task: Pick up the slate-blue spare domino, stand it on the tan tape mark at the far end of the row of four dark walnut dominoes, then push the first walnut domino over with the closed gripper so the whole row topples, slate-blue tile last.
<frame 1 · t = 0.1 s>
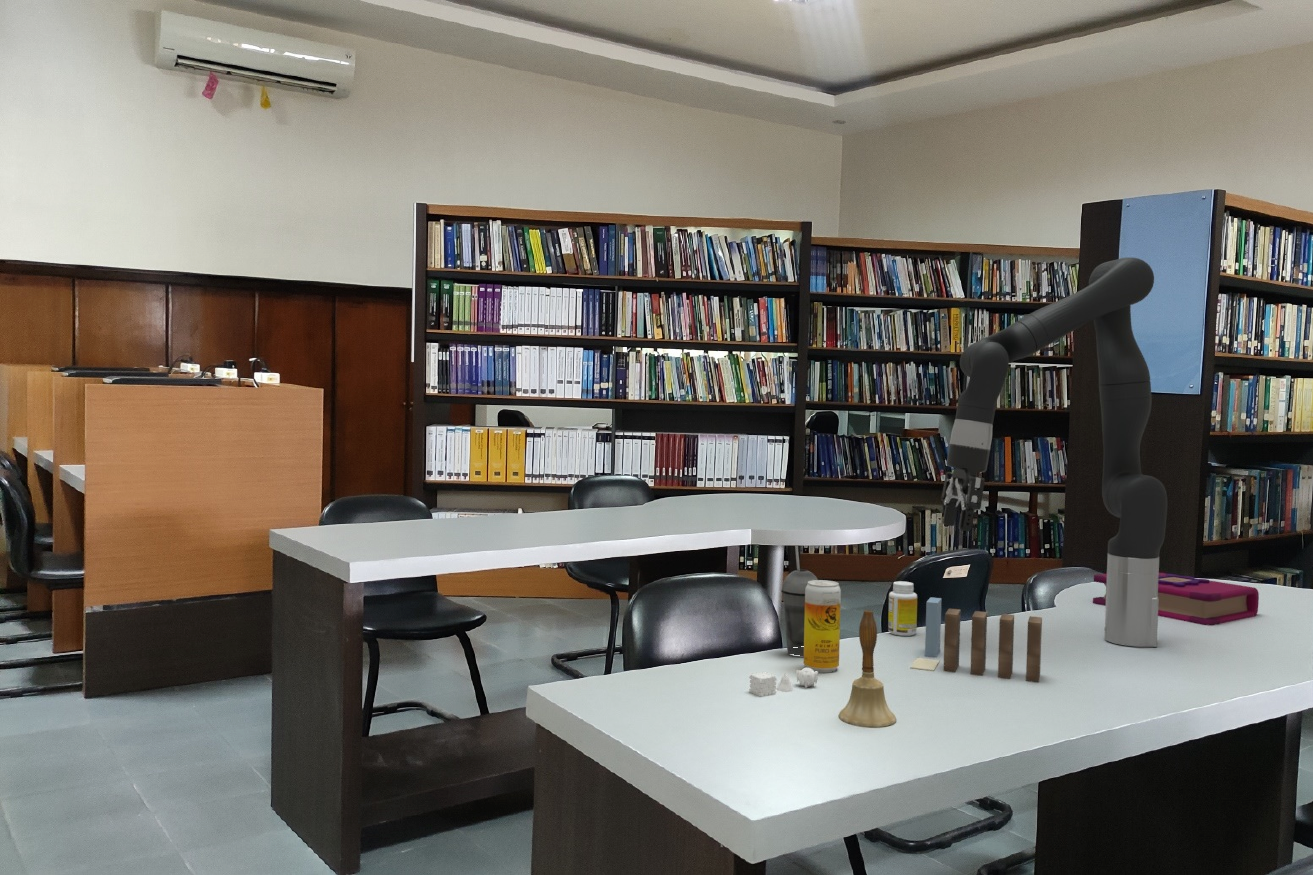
hand: (956, 527, 195), 22 cm above the table, tool pointing down, fingers open, 8 cm apart
domino 4: (951, 668, 177), on the table
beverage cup: (799, 655, 185), on the table
domino 1: (1033, 677, 172), on the table
domino 5: (932, 653, 187), on the table
domino 2: (1005, 674, 174), on the table
supplement bottle: (902, 634, 203), on the table
domino 3: (978, 671, 176), on the table
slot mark: (925, 664, 179), on the table
beer can: (821, 669, 175), on the table
hand bell: (867, 719, 148), on the table
game pieces: (785, 692, 163), on the table
book: (1172, 611, 233), on the table
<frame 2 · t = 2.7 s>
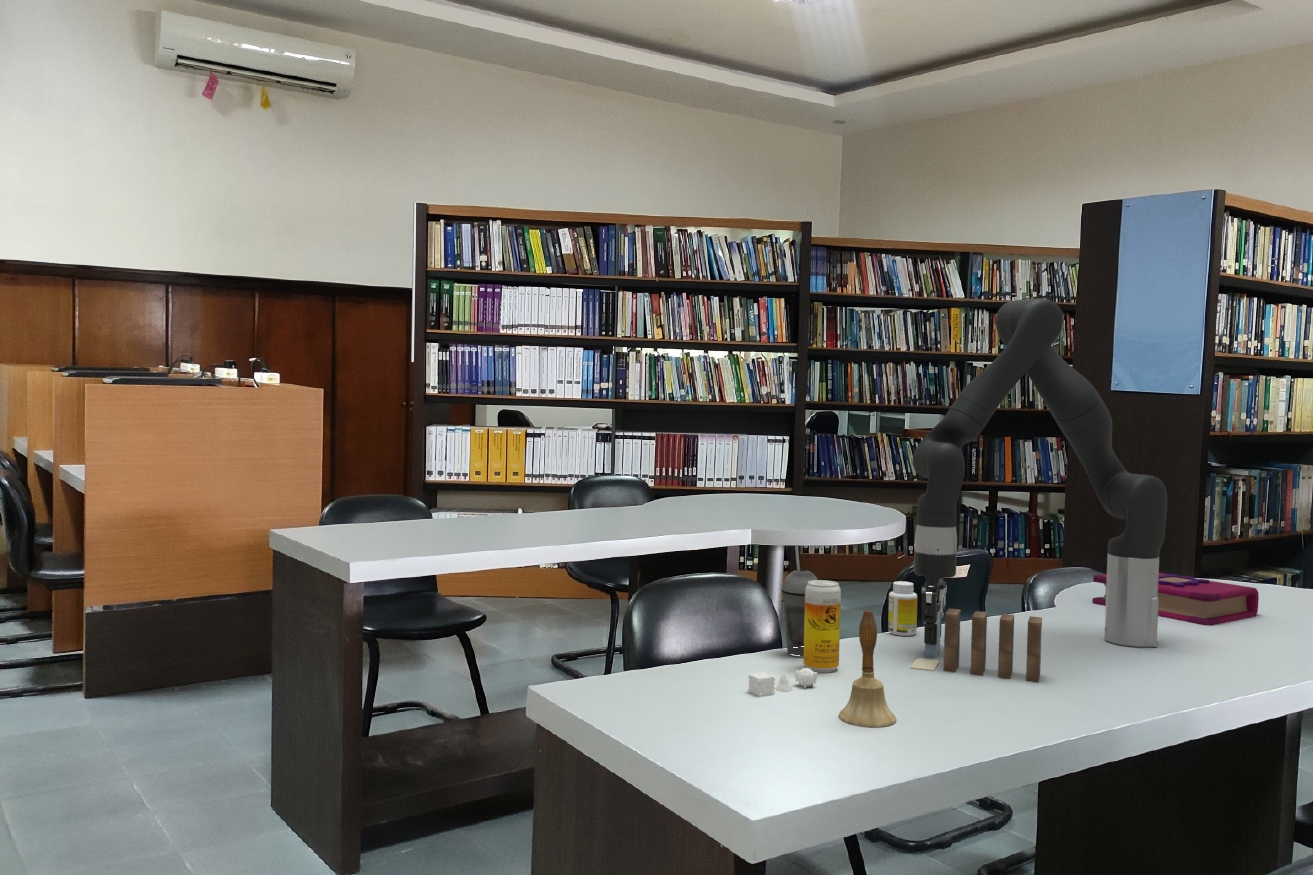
hand: (932, 640, 187), 2 cm above the table, tool pointing down, fingers closed on domino 5, 5 cm apart
domino 5: (932, 653, 187), on the table, touching gripper
everything else where it was.
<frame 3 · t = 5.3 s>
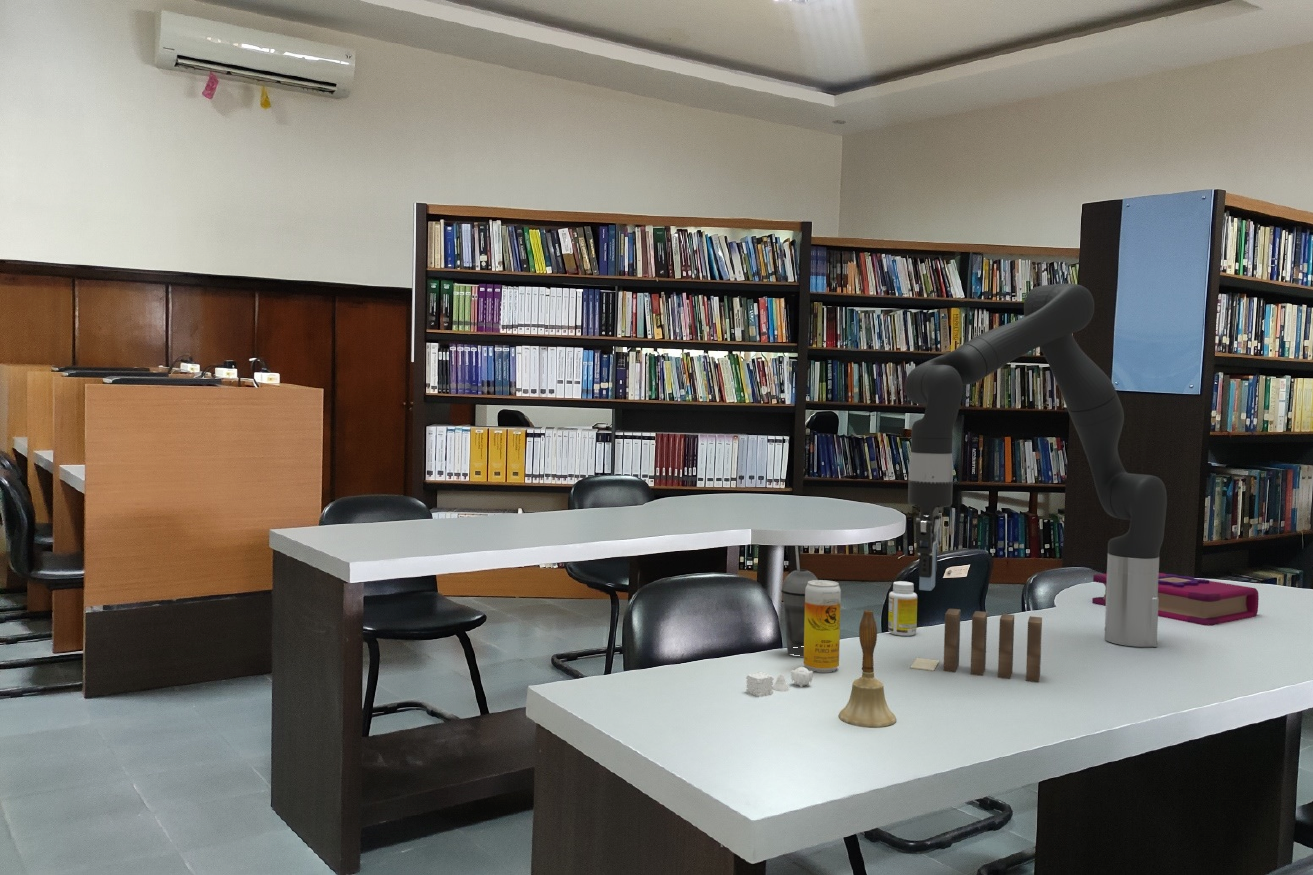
hand: (927, 574, 179), 16 cm above the table, tool pointing down, fingers closed on domino 5, 5 cm apart
domino 5: (927, 587, 179), point 14 cm above the table, touching gripper
when the fingers open (3 cm above the table, at t = 8.0 s): domino 5 stays where it is, resting on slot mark.
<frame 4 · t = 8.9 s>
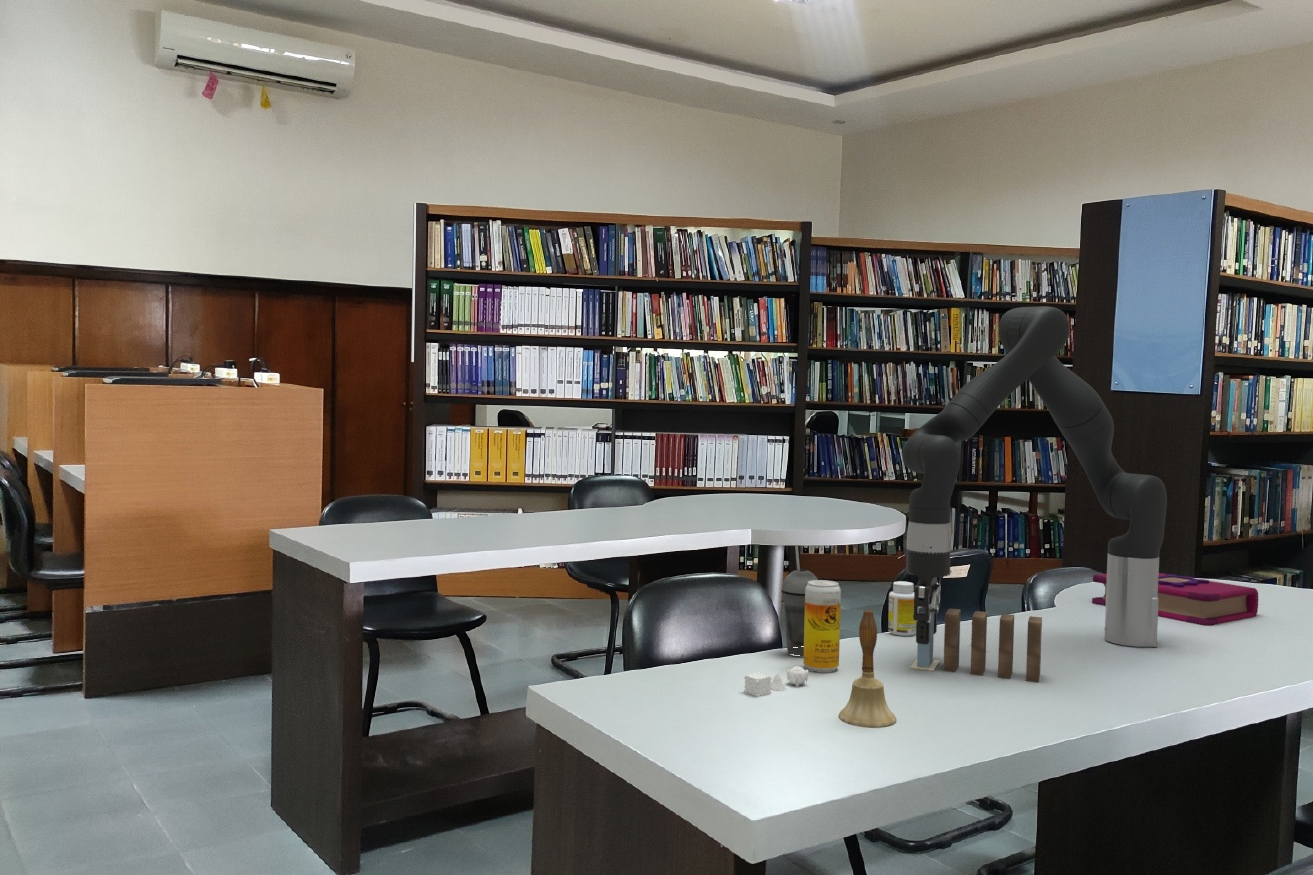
hand: (926, 638, 179), 5 cm above the table, tool pointing down, fingers open, 8 cm apart
domino 5: (925, 663, 179), resting on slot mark
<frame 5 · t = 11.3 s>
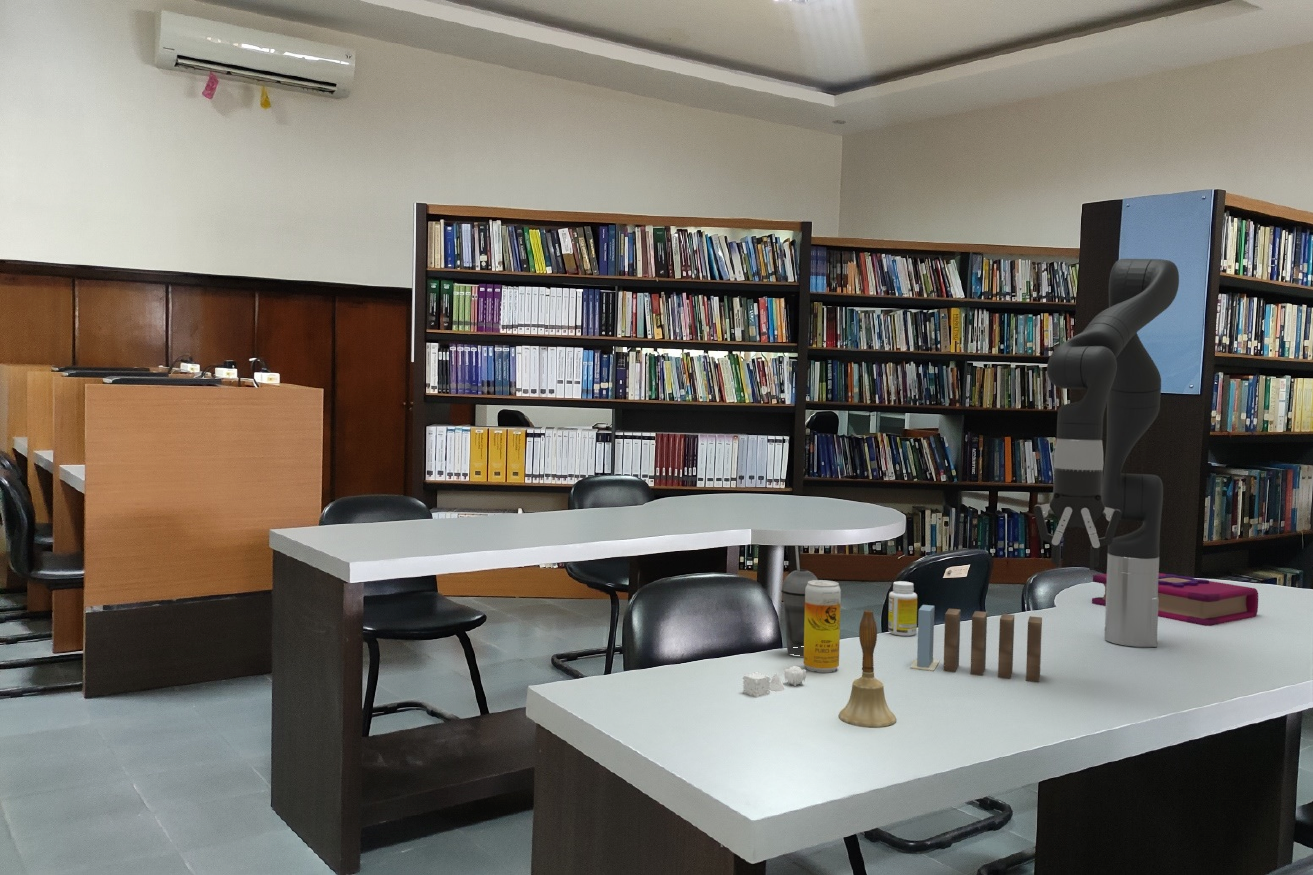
hand: (1074, 567, 169), 19 cm above the table, tool pointing down, fingers open, 4 cm apart
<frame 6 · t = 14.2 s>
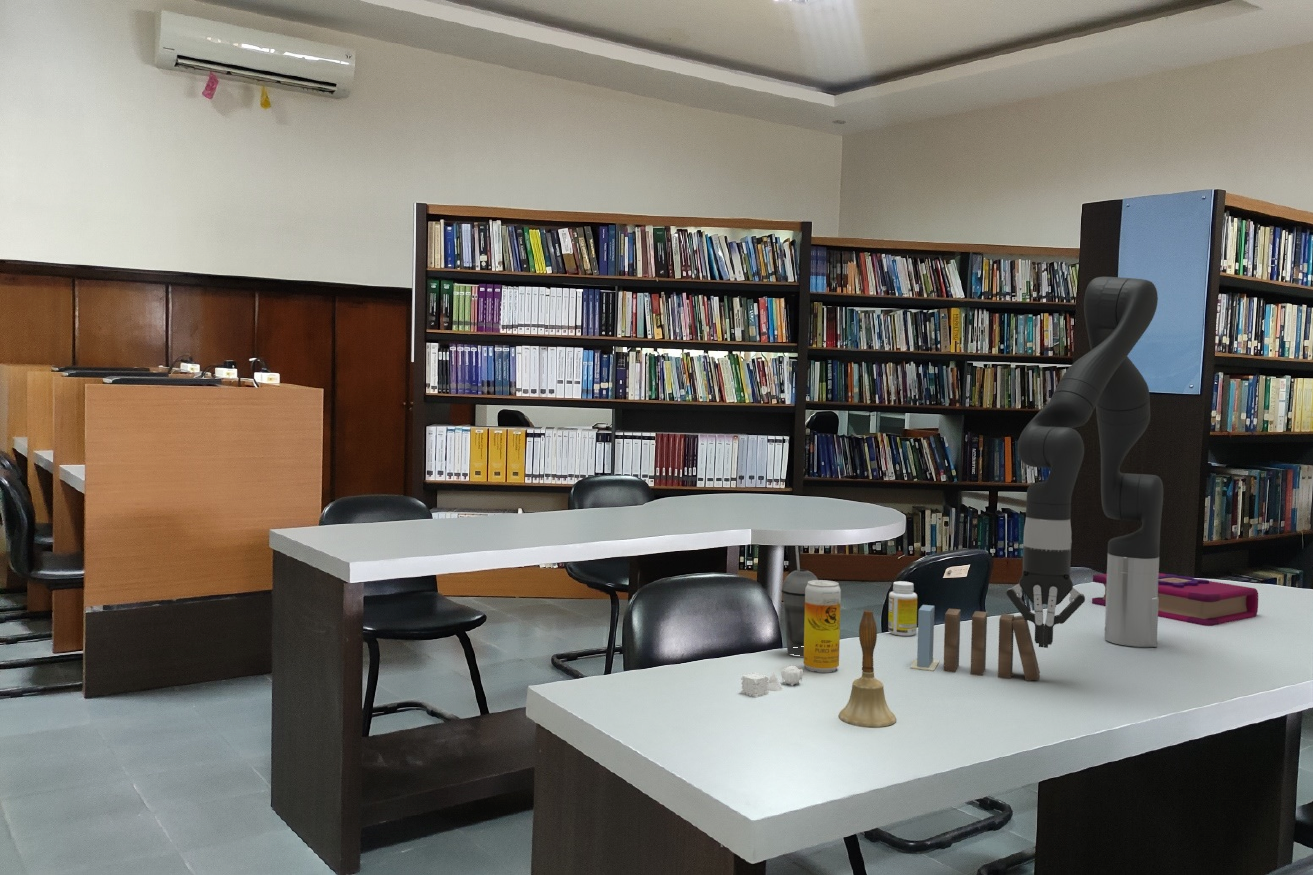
hand: (1043, 646, 171), 6 cm above the table, tool pointing down, fingers closed
domino 1: (1033, 676, 172), on the table, tilted 15°
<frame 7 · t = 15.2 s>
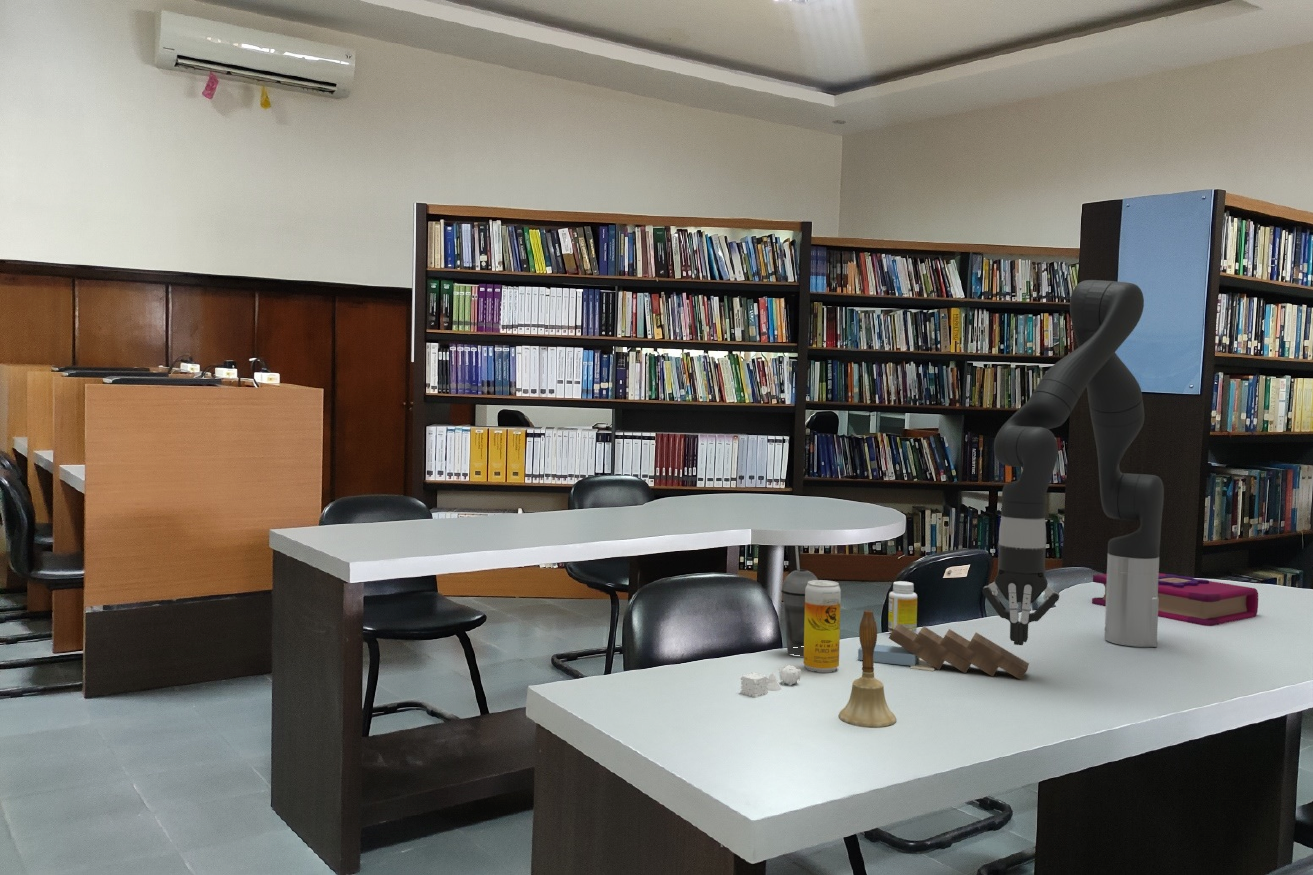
hand: (1018, 644, 173), 6 cm above the table, tool pointing down, fingers closed
domino 4: (943, 661, 178), point 1 cm above the table, tilted 62°, touching domino 3, domino 5
domino 1: (1025, 671, 172), point 1 cm above the table, tilted 63°, touching domino 2
domino 5: (917, 657, 180), point 1 cm above the table, tilted 91°, touching domino 4, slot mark
domino 2: (996, 668, 174), point 1 cm above the table, tilted 63°, touching domino 1, domino 3
domino 3: (969, 665, 176), point 1 cm above the table, tilted 62°, touching domino 2, domino 4
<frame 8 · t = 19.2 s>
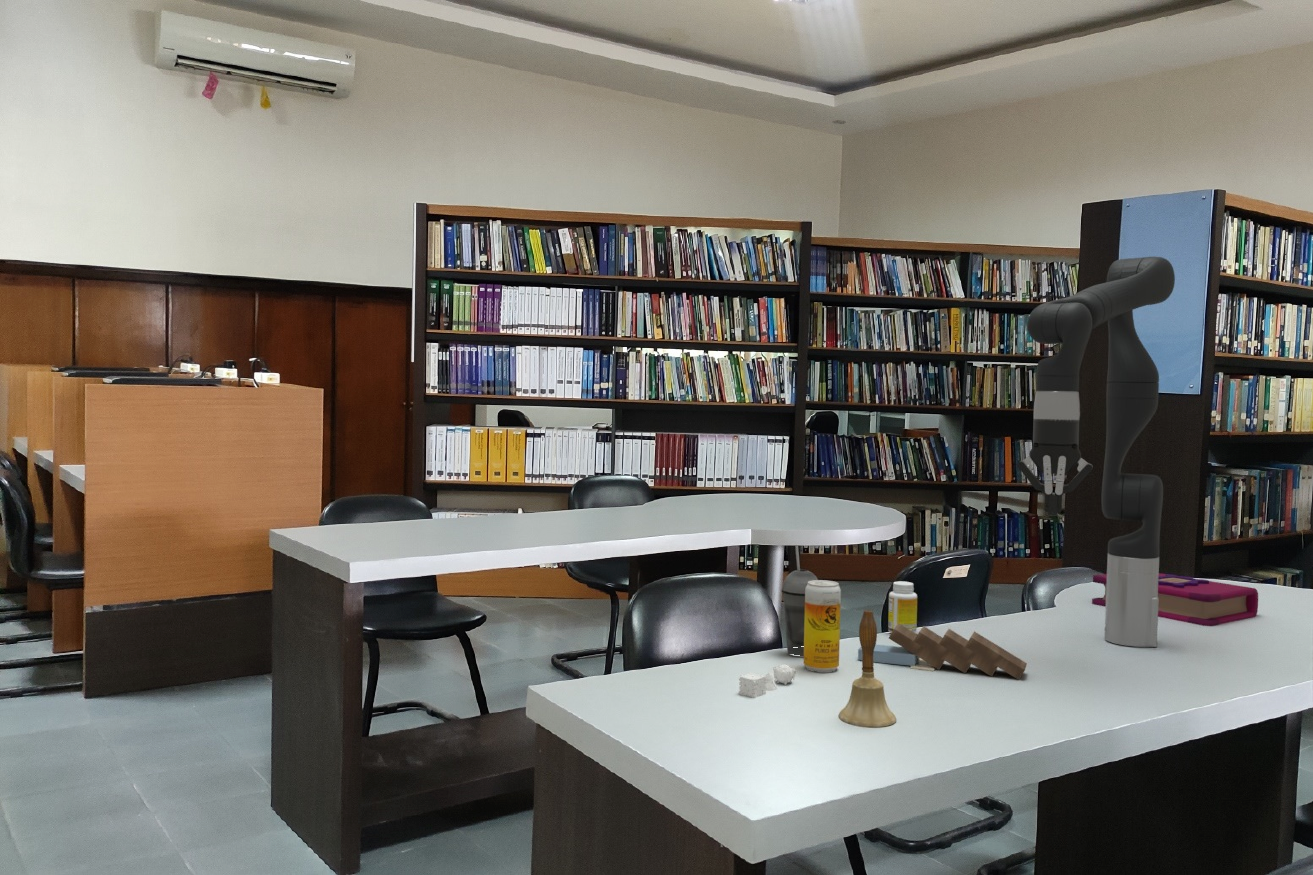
hand: (1053, 515, 178), 27 cm above the table, tool pointing down, fingers closed
at the end: domino 5 tilted 91°; domino 3 tilted 63°; domino 5 1.4 cm from the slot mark (horizontally) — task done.
